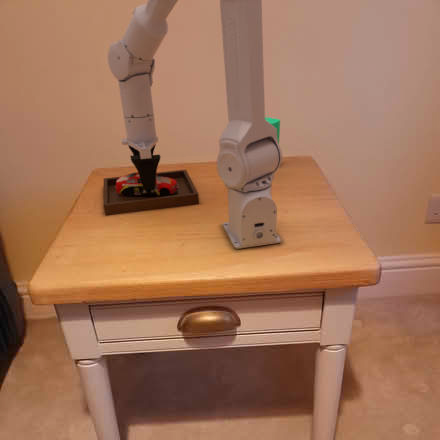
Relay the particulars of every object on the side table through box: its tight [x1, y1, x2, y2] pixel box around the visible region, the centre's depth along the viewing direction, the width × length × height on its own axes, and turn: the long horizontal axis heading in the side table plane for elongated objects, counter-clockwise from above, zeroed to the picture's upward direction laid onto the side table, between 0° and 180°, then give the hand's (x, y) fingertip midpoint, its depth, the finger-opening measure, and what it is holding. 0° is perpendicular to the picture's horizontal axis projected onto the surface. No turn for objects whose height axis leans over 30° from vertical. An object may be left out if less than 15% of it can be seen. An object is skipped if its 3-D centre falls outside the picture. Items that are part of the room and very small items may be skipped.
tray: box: [103, 169, 200, 216], centre depth 90 cm, size 16×19×2 cm
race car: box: [115, 171, 178, 197], centre depth 89 cm, size 13×5×4 cm, turn 84°
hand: (148, 183), depth 89 cm, fingers open, 7 cm apart
